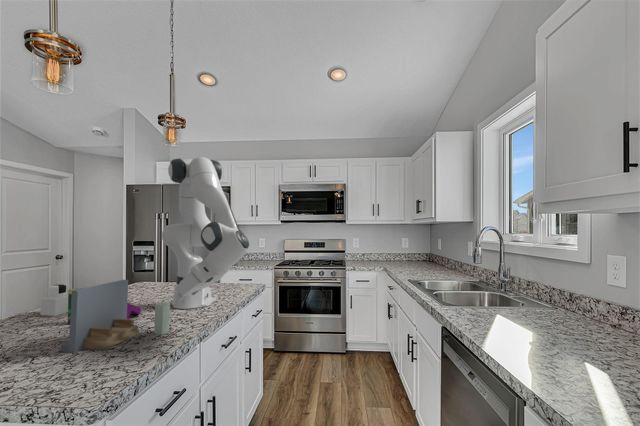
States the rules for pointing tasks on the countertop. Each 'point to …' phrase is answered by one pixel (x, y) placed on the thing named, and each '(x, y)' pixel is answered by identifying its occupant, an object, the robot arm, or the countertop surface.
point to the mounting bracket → (132, 310)
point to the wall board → (95, 311)
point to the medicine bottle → (55, 301)
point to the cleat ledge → (111, 334)
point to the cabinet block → (162, 318)
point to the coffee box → (70, 304)
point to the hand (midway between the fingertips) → (185, 296)
